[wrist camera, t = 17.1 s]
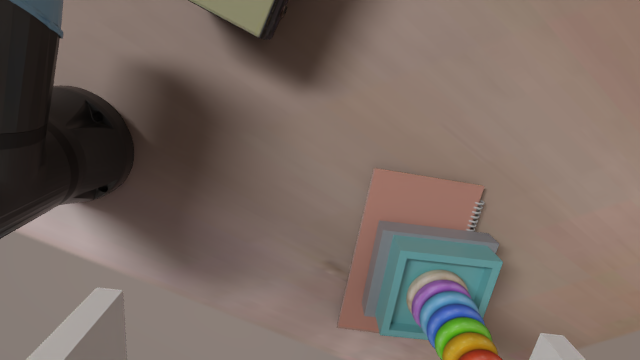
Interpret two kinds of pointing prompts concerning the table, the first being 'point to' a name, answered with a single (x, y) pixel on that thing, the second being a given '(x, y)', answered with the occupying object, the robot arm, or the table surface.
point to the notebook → (410, 208)
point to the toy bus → (248, 14)
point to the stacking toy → (449, 317)
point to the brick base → (424, 270)
